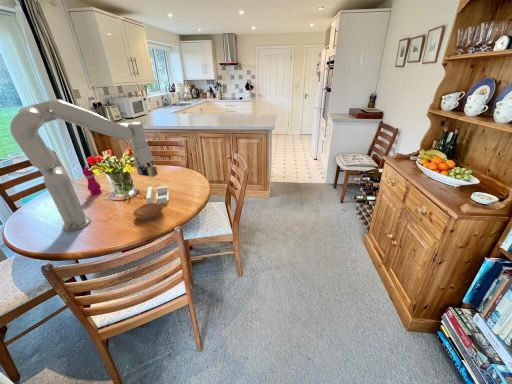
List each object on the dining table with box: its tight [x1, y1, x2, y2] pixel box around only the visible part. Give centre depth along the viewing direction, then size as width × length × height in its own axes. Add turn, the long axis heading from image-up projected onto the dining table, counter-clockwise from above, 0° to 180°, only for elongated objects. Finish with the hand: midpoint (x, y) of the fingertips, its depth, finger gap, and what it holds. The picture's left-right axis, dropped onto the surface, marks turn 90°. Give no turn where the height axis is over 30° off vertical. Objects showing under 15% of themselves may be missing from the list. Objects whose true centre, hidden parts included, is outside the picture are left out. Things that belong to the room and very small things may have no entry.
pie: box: [132, 202, 164, 222], centre depth 133 cm, size 15×16×5 cm
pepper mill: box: [82, 165, 103, 196], centre depth 156 cm, size 7×7×20 cm
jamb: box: [145, 185, 170, 205], centre depth 151 cm, size 17×12×5 cm
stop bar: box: [136, 164, 159, 178], centre depth 142 cm, size 11×4×6 cm, turn 70°
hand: (147, 173), depth 144 cm, fingers closed on stop bar, 4 cm apart
